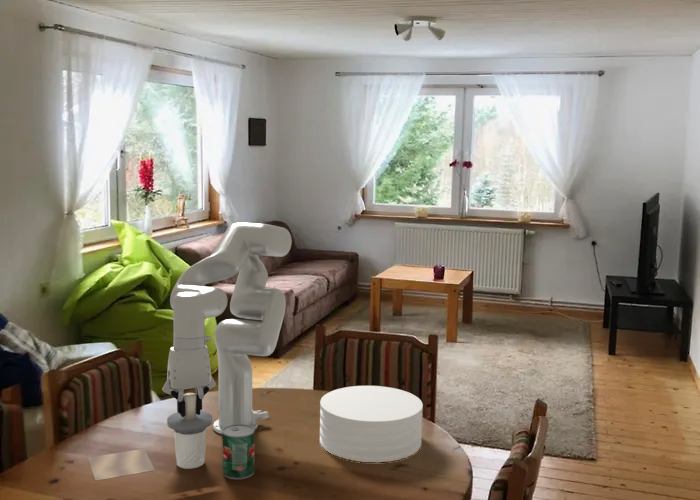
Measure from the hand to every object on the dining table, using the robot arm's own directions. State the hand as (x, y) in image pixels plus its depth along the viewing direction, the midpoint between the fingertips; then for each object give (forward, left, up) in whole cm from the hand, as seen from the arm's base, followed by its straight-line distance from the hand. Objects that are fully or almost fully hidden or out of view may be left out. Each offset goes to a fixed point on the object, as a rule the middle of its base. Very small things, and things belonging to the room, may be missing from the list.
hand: (189, 413), depth 186 cm
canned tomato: (-10, +8, -14) cm, 19 cm away
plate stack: (-49, +4, -14) cm, 51 cm away
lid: (0, 0, -2) cm, 2 cm away
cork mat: (+16, -6, -14) cm, 22 cm away
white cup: (0, 0, -14) cm, 14 cm away
